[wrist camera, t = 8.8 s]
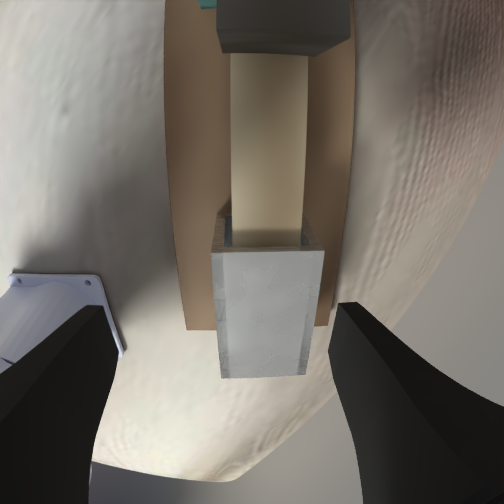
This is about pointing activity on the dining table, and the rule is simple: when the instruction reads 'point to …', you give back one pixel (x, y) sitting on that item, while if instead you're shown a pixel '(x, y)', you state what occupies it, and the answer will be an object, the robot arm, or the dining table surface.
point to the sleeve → (264, 303)
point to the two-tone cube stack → (272, 108)
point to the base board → (219, 151)
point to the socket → (207, 4)
